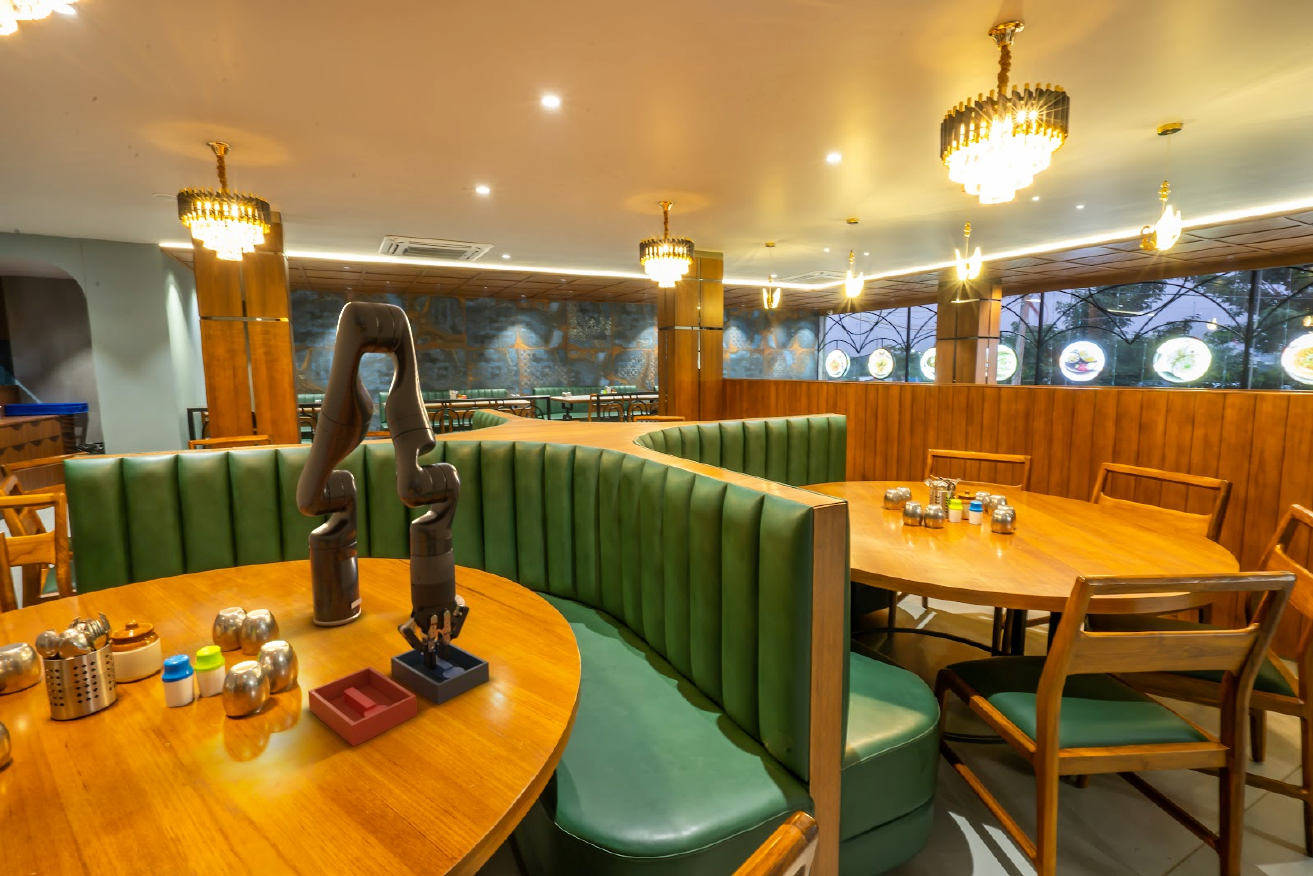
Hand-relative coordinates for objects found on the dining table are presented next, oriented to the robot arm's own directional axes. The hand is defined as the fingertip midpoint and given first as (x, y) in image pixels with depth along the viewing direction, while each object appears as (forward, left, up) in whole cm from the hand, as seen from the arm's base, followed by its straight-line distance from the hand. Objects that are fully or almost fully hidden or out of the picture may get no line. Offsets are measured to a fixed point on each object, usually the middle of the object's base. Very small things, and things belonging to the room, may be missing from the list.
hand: (436, 666), depth 108 cm
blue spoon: (+1, 0, -1) cm, 1 cm away
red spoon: (+1, -14, -2) cm, 14 cm away
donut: (-24, +16, -2) cm, 29 cm away
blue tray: (+1, 0, -2) cm, 2 cm away
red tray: (+1, -14, -2) cm, 14 cm away
